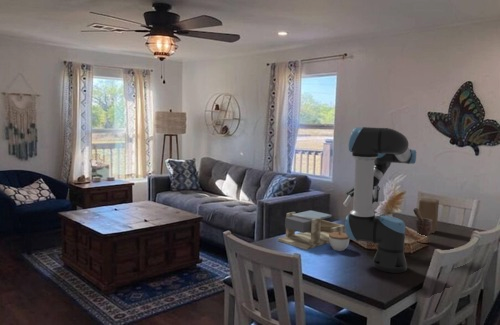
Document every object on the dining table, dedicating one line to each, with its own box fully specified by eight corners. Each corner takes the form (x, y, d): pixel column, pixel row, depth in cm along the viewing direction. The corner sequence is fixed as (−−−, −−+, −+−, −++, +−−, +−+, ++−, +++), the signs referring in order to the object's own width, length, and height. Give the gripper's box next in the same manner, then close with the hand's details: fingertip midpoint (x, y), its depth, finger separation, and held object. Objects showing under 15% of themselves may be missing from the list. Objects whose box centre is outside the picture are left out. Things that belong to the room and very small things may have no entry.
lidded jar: (332, 244, 224) (333, 227, 223) (351, 248, 219) (352, 231, 218) (325, 249, 215) (326, 232, 214) (345, 253, 209) (346, 235, 208)
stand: (305, 249, 214) (307, 221, 212) (278, 240, 228) (278, 214, 227) (344, 238, 237) (345, 212, 236) (316, 230, 252) (317, 206, 250)
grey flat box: (305, 233, 215) (305, 220, 215) (283, 227, 227) (283, 215, 226) (331, 226, 231) (332, 214, 231) (310, 221, 243) (310, 209, 242)
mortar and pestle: (423, 246, 225) (426, 210, 223) (409, 242, 232) (411, 207, 230) (433, 242, 233) (436, 208, 231) (418, 238, 239) (421, 205, 237)
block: (416, 231, 256) (418, 199, 254) (420, 228, 265) (422, 197, 263) (433, 234, 251) (436, 202, 249) (436, 230, 259) (439, 199, 257)
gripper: (395, 186, 220) (376, 216, 213) (358, 179, 240) (339, 207, 233) (390, 176, 216) (370, 208, 209) (352, 171, 237) (333, 199, 229)
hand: (354, 207), depth 221 cm, fingers open, 13 cm apart
